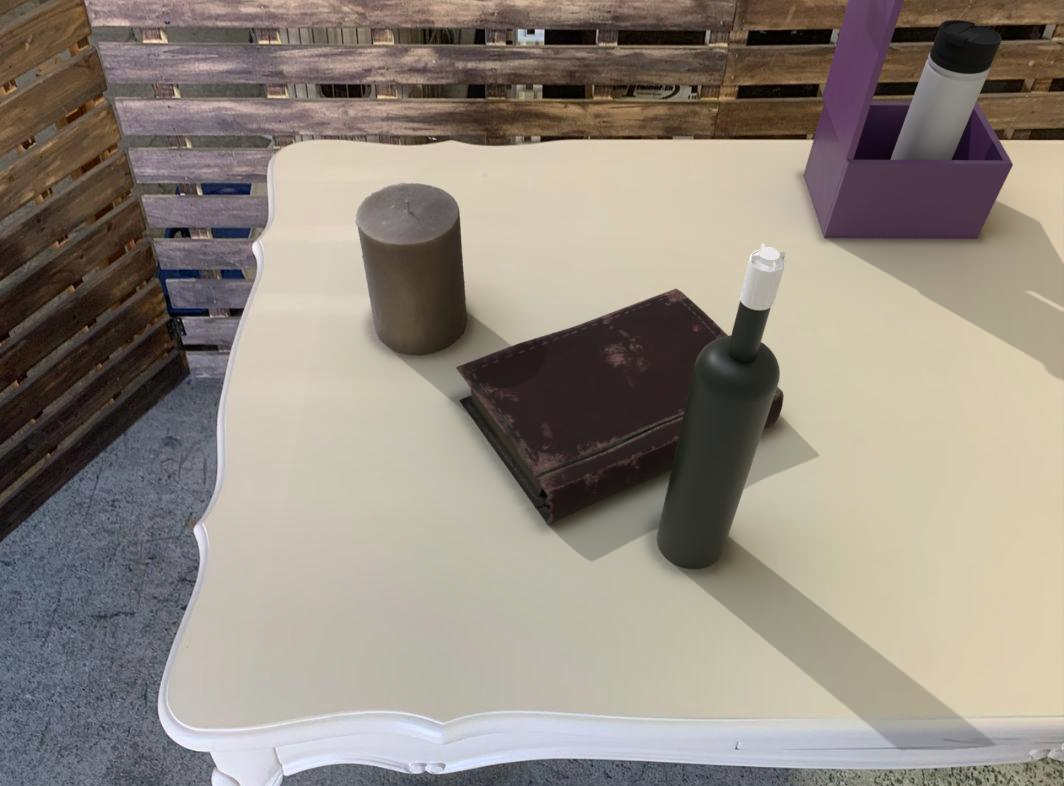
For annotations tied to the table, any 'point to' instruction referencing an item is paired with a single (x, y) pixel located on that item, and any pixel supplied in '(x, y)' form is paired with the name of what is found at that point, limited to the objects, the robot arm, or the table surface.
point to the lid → (858, 66)
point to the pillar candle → (413, 267)
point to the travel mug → (947, 91)
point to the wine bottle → (722, 424)
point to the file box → (904, 181)
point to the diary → (593, 401)
